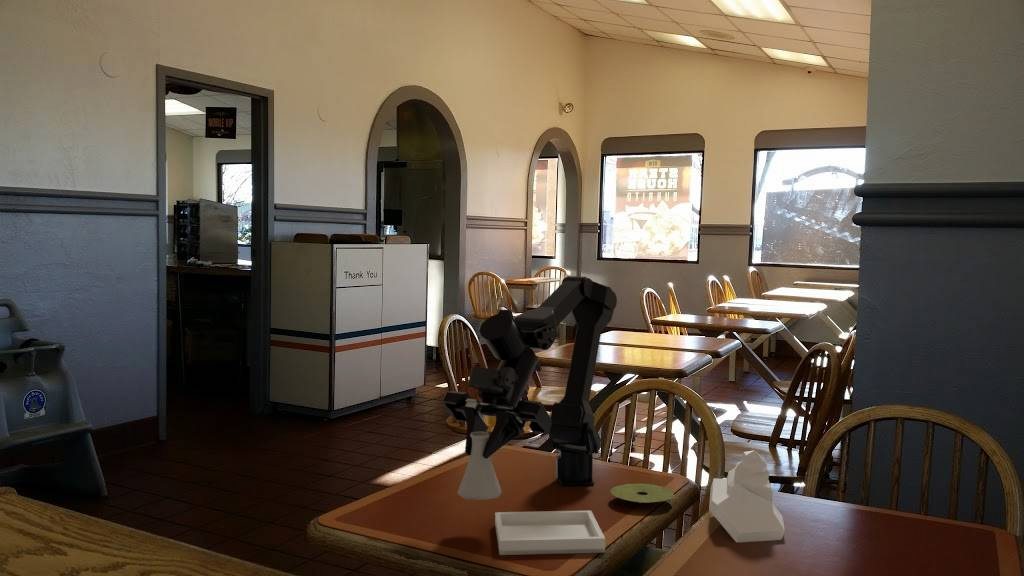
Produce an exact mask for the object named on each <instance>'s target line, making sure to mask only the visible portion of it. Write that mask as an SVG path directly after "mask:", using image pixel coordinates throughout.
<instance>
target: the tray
mask: <svg viewBox="0 0 1024 576" xmlns="http://www.w3.org/2000/svg"><path fill="white" fill-rule="evenodd" d="M494 527H495V535H496V541H497V548H498V555H499V556H510V555H511V556H515V555H516V556H517V555H519V556H521V555H552V554H553V555H558V554H559V555H560V554H563V555H564V554H566V555H567V554H600V553H601V554H602V553H605V554H606V537H605V535H604V532H603V531H602V529H601V527H600V526H599V523H598V521H597V519H596V517H595V515H594V513H593V511H592V510H552V511H551V510H550V511H548V510H547V511H543V510H542V511H505V512H504V511H497V512H494Z"/></svg>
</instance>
